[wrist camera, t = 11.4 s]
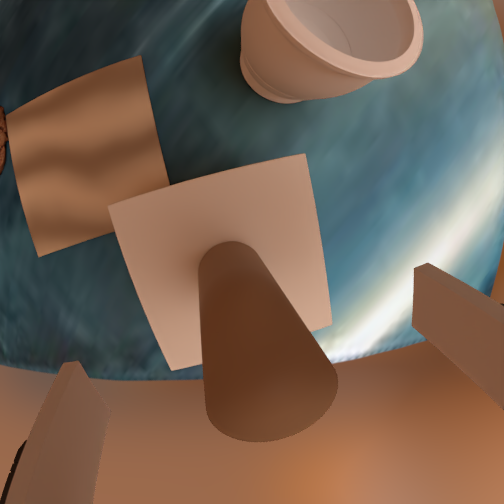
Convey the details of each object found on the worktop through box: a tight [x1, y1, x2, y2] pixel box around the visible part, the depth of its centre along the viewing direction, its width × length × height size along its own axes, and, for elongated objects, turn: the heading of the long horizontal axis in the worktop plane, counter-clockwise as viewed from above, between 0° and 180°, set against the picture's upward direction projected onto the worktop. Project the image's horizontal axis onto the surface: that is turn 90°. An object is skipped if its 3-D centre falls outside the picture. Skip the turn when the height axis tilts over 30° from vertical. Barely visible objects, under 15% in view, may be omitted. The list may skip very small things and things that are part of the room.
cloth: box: [6, 55, 170, 257], centre depth 24 cm, size 16×16×1 cm
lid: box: [108, 154, 338, 442], centre depth 14 cm, size 12×12×12 cm
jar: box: [240, 0, 423, 104], centre depth 18 cm, size 11×10×15 cm
